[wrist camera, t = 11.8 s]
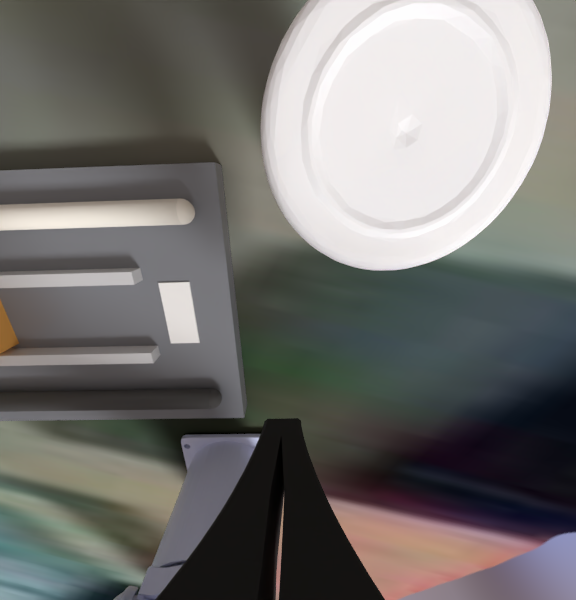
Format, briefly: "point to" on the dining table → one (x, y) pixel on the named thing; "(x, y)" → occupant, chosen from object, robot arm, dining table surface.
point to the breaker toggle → (6, 331)
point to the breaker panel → (122, 293)
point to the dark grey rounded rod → (110, 400)
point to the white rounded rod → (96, 214)
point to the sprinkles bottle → (403, 123)
